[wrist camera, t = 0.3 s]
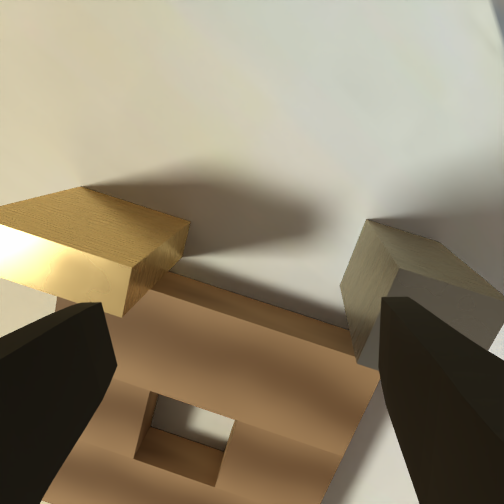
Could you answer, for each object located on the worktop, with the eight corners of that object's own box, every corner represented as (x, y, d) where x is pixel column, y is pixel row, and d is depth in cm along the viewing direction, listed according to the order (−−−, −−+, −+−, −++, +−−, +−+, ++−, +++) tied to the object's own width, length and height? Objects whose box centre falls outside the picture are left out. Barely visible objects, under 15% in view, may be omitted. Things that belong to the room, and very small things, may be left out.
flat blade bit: (182, 257, 20) (121, 317, 14) (75, 222, 21) (-34, 265, 14) (190, 221, 20) (131, 267, 13) (80, 186, 20) (-32, 213, 13)
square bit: (408, 307, 19) (460, 398, 13) (339, 285, 20) (356, 363, 13) (439, 242, 18) (514, 304, 12) (366, 219, 18) (399, 268, 12)
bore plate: (283, 543, 25) (281, 585, 23) (55, 463, 26) (30, 496, 24) (376, 339, 20) (385, 366, 18) (89, 245, 21) (62, 260, 18)
